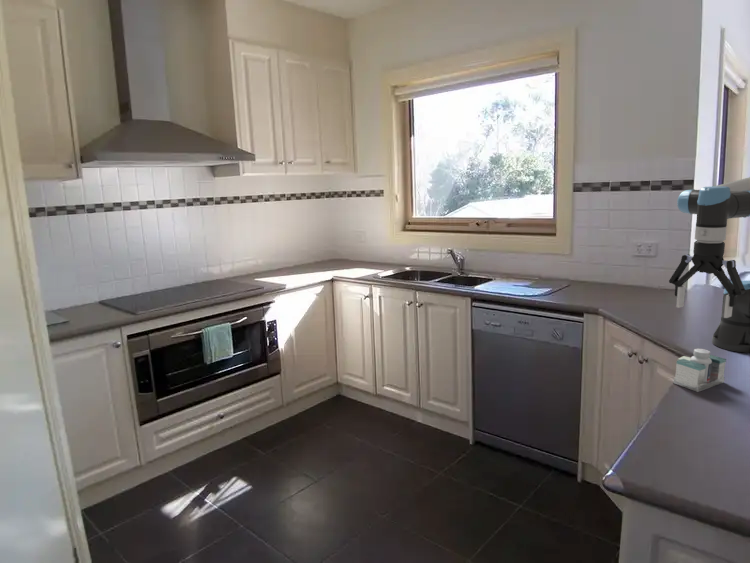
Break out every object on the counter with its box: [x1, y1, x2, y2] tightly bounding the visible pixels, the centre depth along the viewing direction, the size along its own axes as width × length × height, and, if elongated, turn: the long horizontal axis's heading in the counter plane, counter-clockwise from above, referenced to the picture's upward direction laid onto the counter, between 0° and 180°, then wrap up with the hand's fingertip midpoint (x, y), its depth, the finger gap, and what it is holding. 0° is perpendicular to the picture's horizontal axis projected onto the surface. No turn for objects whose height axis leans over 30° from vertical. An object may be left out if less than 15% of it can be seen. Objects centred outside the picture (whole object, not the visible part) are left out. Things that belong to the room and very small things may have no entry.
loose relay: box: [677, 355, 691, 361], centre depth 160 cm, size 4×5×4 cm
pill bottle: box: [690, 348, 712, 383], centre depth 151 cm, size 5×5×9 cm
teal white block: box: [673, 354, 727, 393], centre depth 152 cm, size 13×7×7 cm, turn 118°
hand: (702, 311), depth 155 cm, fingers open, 13 cm apart
